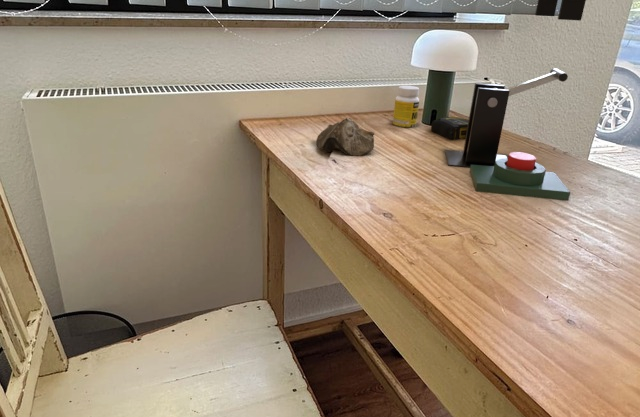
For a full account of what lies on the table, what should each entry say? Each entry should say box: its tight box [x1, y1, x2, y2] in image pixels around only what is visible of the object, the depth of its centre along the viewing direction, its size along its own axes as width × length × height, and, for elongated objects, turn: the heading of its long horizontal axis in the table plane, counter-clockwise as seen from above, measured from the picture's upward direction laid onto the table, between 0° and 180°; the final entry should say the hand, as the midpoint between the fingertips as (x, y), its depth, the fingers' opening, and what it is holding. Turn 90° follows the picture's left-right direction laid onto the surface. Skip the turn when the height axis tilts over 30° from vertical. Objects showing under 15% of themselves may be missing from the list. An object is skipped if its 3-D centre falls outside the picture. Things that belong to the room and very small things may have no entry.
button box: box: [469, 157, 571, 201], centre depth 69 cm, size 12×8×4 cm, turn 80°
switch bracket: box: [444, 82, 510, 169], centre depth 77 cm, size 10×8×13 cm
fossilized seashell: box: [315, 117, 375, 157], centre depth 82 cm, size 8×7×10 cm
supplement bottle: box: [392, 85, 420, 129], centre depth 97 cm, size 5×5×8 cm
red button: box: [506, 151, 537, 171], centre depth 68 cm, size 4×4×2 cm
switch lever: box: [492, 68, 569, 97], centre depth 74 cm, size 12×5×2 cm, turn 81°
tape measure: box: [430, 116, 469, 141], centre depth 93 cm, size 7×7×4 cm
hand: (555, 18), depth 71 cm, fingers open, 13 cm apart
